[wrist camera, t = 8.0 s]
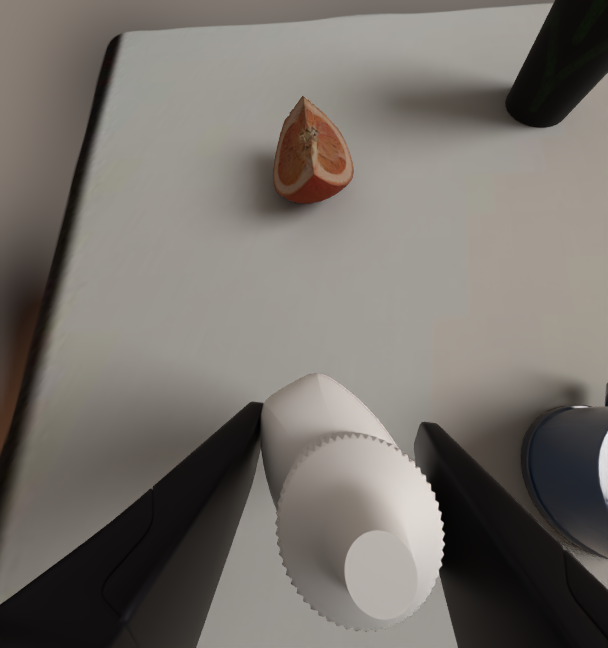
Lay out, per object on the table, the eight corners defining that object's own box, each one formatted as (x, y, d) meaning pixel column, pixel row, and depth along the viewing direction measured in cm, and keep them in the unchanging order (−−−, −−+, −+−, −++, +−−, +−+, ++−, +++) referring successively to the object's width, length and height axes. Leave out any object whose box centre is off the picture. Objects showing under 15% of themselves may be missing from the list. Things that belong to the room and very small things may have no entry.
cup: (590, 132, 26) (801, -88, 15) (506, 138, 26) (651, -75, 15) (562, 76, 29) (724, -149, 17) (485, 82, 29) (596, -137, 17)
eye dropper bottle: (282, 518, 13) (85, 1094, 2) (285, 394, 15) (193, 306, 4) (377, 519, 13) (785, 1151, 2) (368, 394, 15) (534, 301, 4)
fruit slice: (273, 152, 27) (264, 96, 22) (343, 146, 27) (349, 87, 22) (277, 226, 24) (268, 179, 20) (356, 218, 24) (365, 170, 19)
